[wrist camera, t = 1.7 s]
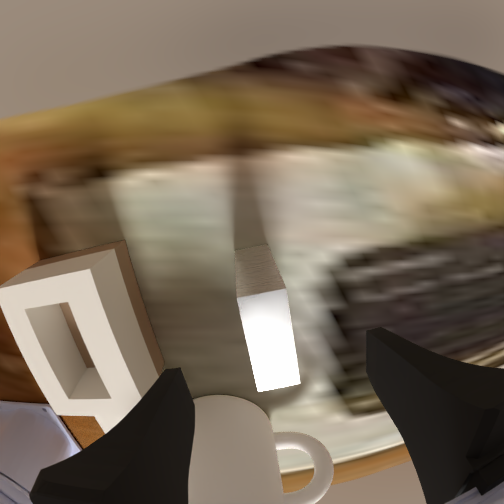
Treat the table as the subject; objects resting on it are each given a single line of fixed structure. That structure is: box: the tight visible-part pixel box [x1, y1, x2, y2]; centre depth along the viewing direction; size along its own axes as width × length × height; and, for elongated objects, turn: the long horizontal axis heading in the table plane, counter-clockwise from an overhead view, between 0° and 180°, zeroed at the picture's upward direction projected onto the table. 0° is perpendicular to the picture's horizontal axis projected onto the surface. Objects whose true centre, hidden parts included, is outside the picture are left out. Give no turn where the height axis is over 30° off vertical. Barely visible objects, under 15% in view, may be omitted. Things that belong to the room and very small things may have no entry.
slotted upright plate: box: [0, 240, 164, 434], centre depth 19 cm, size 7×18×6 cm, turn 10°
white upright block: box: [235, 244, 300, 392], centre depth 17 cm, size 2×5×7 cm, turn 10°
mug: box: [188, 395, 334, 504], centre depth 19 cm, size 12×8×10 cm
